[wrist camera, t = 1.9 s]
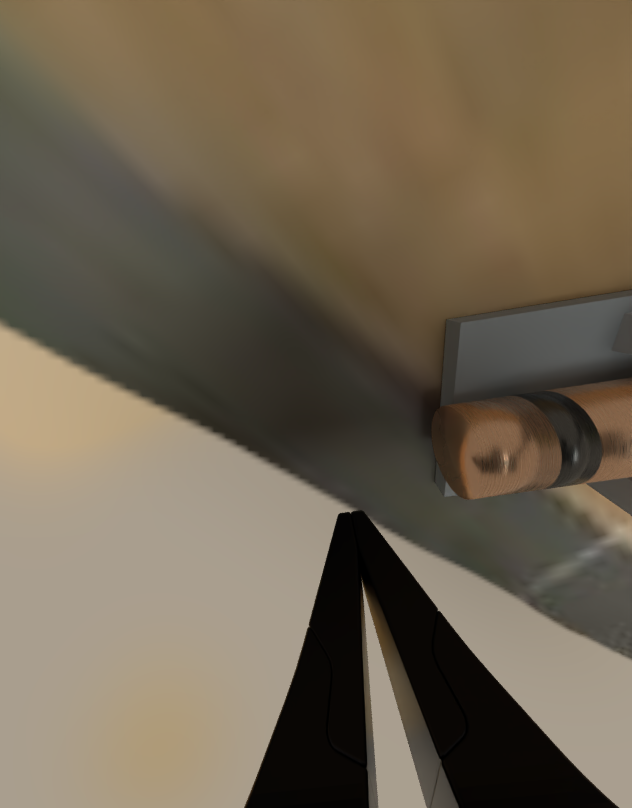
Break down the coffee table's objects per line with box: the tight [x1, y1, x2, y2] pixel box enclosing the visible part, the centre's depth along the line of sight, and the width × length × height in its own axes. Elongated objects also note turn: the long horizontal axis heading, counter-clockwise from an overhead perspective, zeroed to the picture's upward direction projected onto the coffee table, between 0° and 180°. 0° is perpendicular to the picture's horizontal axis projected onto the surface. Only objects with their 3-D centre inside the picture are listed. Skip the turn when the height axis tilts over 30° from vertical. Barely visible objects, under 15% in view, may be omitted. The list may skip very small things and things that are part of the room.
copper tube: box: [431, 377, 632, 500], centre depth 11 cm, size 12×4×4 cm, turn 99°
